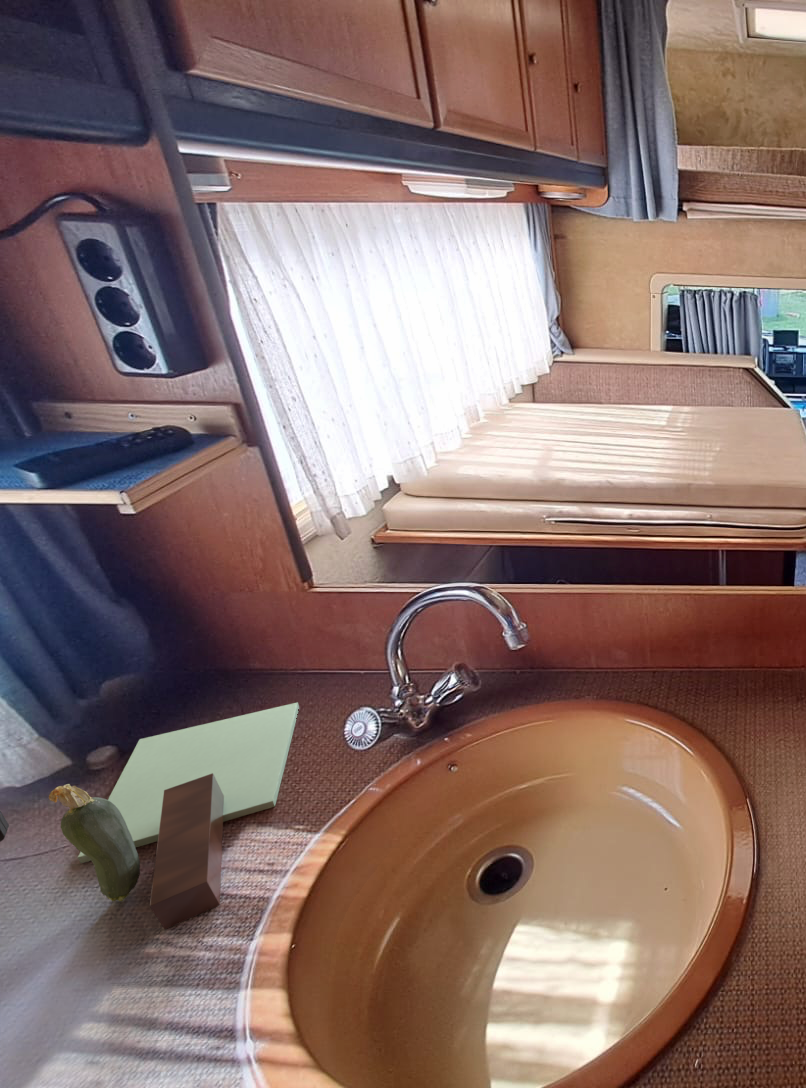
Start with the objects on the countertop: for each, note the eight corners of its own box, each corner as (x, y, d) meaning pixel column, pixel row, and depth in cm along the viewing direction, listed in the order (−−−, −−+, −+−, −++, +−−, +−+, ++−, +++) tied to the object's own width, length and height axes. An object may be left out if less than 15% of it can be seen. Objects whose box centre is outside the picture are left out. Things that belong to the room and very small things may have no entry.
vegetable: (148, 871, 80) (91, 758, 72) (161, 890, 78) (104, 776, 70) (100, 900, 76) (34, 784, 69) (112, 920, 74) (46, 803, 67)
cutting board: (80, 863, 80) (77, 857, 80) (142, 744, 98) (139, 739, 97) (275, 806, 90) (273, 800, 89) (299, 707, 107) (297, 702, 107)
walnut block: (149, 906, 72) (163, 790, 84) (164, 929, 74) (176, 813, 86) (207, 881, 75) (213, 772, 87) (220, 905, 77) (224, 795, 89)
